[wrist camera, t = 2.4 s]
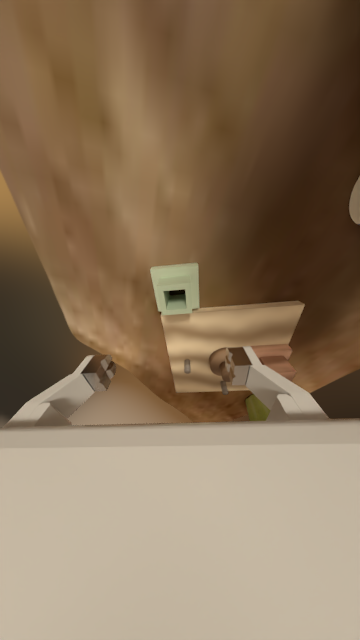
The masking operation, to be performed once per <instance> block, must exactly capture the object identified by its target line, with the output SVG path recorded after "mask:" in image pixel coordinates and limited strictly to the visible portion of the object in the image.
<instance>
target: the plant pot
mask: <svg viewBox="0 0 360 640" xmlns="http://www.w3.org/2000/svg"><path fill="white" fill-rule="evenodd" d="M245 402H246V407H247V411H248V415H249V420H250V421H266V419H267V417H268V415H269V413H270V410H269V409H268V408H267V407H266V406H265V405H264V404H263V403H262V402H261V401H260V400H259V399H258V398H257V397H256V396H255V395H254V394H253V395H250V397H249V398H246V400H245Z"/></svg>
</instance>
